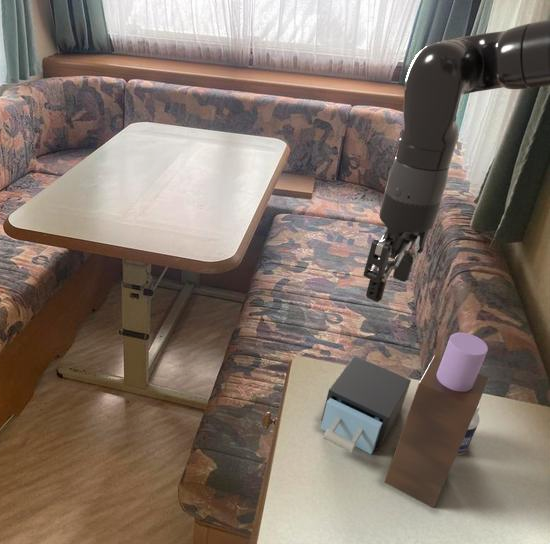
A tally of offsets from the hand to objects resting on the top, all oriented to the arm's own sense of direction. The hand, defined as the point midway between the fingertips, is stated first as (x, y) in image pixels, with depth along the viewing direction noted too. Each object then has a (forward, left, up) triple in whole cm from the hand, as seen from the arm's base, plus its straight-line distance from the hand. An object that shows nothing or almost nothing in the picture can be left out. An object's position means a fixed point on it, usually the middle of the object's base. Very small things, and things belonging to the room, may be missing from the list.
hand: (387, 288), depth 89 cm
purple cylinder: (-14, +13, -2) cm, 19 cm away
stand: (-14, +13, -22) cm, 29 cm away
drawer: (-3, +11, -21) cm, 23 cm away
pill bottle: (-16, +3, -22) cm, 27 cm away
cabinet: (-3, +6, -22) cm, 22 cm away
